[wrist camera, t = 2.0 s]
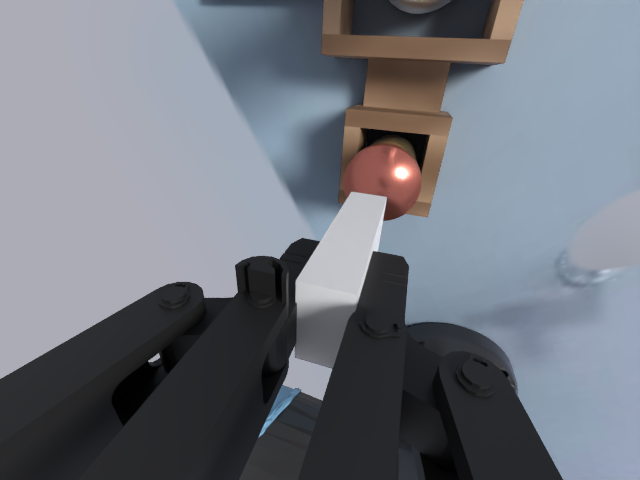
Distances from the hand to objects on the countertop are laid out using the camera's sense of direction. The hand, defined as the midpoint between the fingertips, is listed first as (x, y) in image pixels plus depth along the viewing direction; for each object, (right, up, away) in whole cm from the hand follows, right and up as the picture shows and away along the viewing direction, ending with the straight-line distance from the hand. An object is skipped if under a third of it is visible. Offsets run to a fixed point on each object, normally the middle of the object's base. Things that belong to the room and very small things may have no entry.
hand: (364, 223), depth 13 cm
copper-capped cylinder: (+4, +6, +11) cm, 13 cm away
